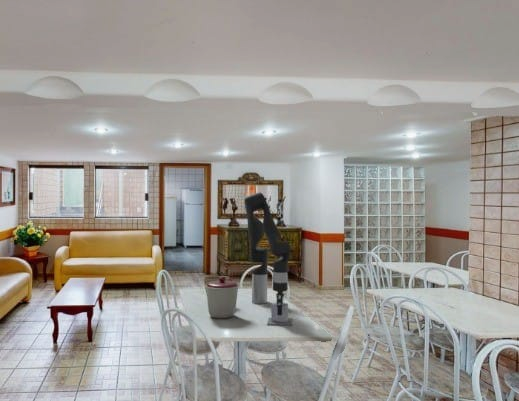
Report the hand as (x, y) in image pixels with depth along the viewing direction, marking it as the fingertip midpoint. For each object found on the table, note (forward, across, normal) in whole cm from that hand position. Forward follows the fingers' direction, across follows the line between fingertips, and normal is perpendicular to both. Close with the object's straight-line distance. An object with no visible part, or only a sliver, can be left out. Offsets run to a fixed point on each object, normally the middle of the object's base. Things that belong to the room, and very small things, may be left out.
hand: (280, 313), depth 216 cm
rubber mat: (+5, 0, 0) cm, 5 cm away
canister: (+5, -8, -31) cm, 32 cm away
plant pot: (+5, -34, -39) cm, 52 cm away
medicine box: (+4, 0, 0) cm, 4 cm away
